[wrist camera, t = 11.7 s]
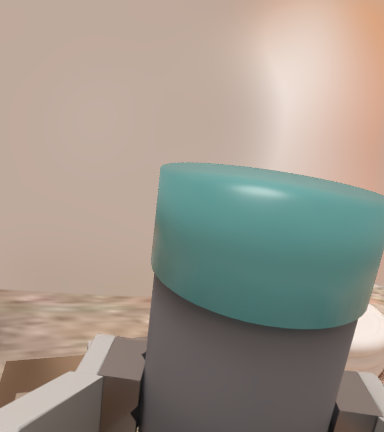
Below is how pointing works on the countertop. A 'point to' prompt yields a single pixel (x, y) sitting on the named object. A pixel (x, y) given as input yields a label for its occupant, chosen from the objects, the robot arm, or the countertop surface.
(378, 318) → the coaster
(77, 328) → the countertop surface
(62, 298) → the countertop surface
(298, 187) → the bottle
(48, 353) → the countertop surface
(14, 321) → the countertop surface
